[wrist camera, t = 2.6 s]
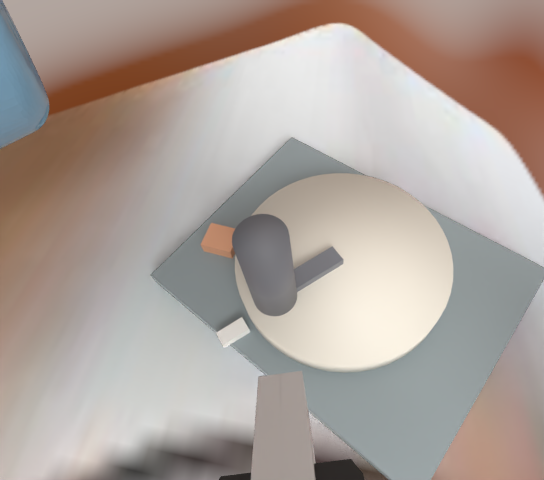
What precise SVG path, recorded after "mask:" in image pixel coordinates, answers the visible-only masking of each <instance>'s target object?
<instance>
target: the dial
mask: <svg viewBox="0 0 544 480" xmlns="http://www.w3.org/2000/svg"><path fill="white" fill-rule="evenodd" d="M232 246H233V249H234V251H235V254H236V255H235V276H236V283H237V287H238V290H239V294H240V296H241V299H242V301H243V303H244V306H245V308H246V310H247V312H248V315H249V317H250V319H251V320H252V322H253V324H254V325H255V327H256V328H257V330H258V331H259V332H260V333H261V334H262V336H263V337H264V338H265V339H266V340H267V341H268V342H269V343H270V344H271V345H272V346H273V347H275V348H276V349H277V350H279V351H280V352H281V353H283V354H284V355H286V356H287V357H289V358H291V359H293V360H295V361H297V362H299V363H301V364H304V365H307V366H309V367H312V368H316V369H320V370H325V371H330V372H342V373H347V372H362V371H367V370H372V369H376V368H379V367H382V366H385V365H388V364H390V363H392V362H394V361H396V360H398V359H400V358H402V357H403V356H405V355H406V354H408V353H409V352H411V351H412V350H413V349H414V348H416V347H417V346H418V345H419V344H420V343H421V342H422V341H423V340H424V339H425V337H426V336H427V335H428V333H429V332H430V331H431V330H432V328H433V327H434V325H435V324H436V323H437V321H438V320H439V318H440V317H441V315H442V313H443V311H444V309H445V307H446V305H447V303H448V300H449V297H450V294H451V289H452V284H453V260H452V253H451V250H450V247H449V243H448V240H447V238H446V236H445V234H444V232H443V230H442V228H441V227H440V225H439V223H438V222H437V220H436V219H435V218H434V216H433V215H432V214H431V213H430V212H429V210H428V209H427V208H426V207H425V206H424V205H423V204H421V203H420V202H419V201H418V200H417V199H416V198H414V197H413V196H412V195H410V194H409V193H407V192H406V191H404V190H402V189H400V188H399V187H397V186H395V185H392V184H390V183H388V182H386V181H383V180H380V179H377V178H374V177H369V176H364V175H359V174H350V173H332V174H322V175H317V176H312V177H308V178H305V179H302V180H299V181H296V182H294V183H292V184H289V185H287V186H286V187H284V188H282V189H280V190H278V191H277V192H276V193H274V194H273V195H271V196H270V197H269V198H267V199H266V200H265V201H264V202H263V203H262V204H261V205H260V206H259V207H258V208H257V209H256V210H255V212H254V213H253V214H252V215H251V216H250V217H248V218H246V219H244V220H243V221H242V222H240V223H239V224H238V226H237V227H236V228H235V230H234V232H233V235H232Z"/></svg>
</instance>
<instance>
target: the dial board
mask: <svg viewBox="0 0 544 480" xmlns="http://www.w3.org/2000/svg"><path fill="white" fill-rule="evenodd" d="M332 173H350V174H359V175H364V174H362V173H360V172H358V171H356V170H354V169H352V168H351V167H349V166H347V165H345V164H343V163H341V162H339V161H337V160H335V159H333V158H331V157H329V156H327V155H325V154H323V153H321V152H320V151H318V150H316V149H314V148H312V147H310V146H308V145H306V144H304V143H302V142H300V141H298V140H296V139H294V138H291V139H290V140H288V141H287V142H286V143H285V144H284V145H283V146H282V147H281V148H280V149H279V150H278V151H277V152H276V153H275V154H274V155H273V156H272V157H271V158H270V159H269V160H268V161H267V162H266V163H265V164H264V165H263V166H262V167H261V168H260V169H259V170H258V171H257V172H256V173H255V174H254V175H253V176H252V177H251V178H250V179H249V180H247V181H246V182H245V183H244V184H243V185H242V186H241V187H240V188H239V189H238V190H237V191H236V192H235V193H234V194H233V195H232V196H231V197H230V198H229V199H228V200H227V201H226V202H225V203H224V204H223V205H222V206H221V207H220V208H219V209H218V210H217V211H216V212H215V213H214V214H213V215H212V216H211V217H210V218H209V219H208V220H206V221H205V222H204V223H203V224H202V225H201V226H200V227H199V228H198V229H197V230H196V231H195V232H194V233H193V234H192V235H191V236H190V237H189V238H188V239H187V240H186V241H185V242H184V243H183V244H182V245H181V246H180V247H179V248H178V249H177V250H176V251H175V252H174V253H173V254H172V255H171V256H170V257H169V258H168V259H167V260H165V261H164V262H163V263H162V264H161V265H160V266H159V267H158V268H157V269H156V270H155V271H154V272H153V273H152V274H151V276H152V278H153V279H154V280H155V281H156V282H157V283H158V284H159V285H160V286H161V287H163V288H164V289H165V290H166V291H167V292H169V293H170V294H171V295H172V296H173V297H174V298H176V299H177V300H178V301H179V302H180V303H181V304H183V305H184V306H185V307H186V308H187V309H189V310H190V311H191V312H192V313H193V314H194V315H196V316H197V317H198V318H199V319H200V320H201V321H203V322H204V323H205V324H206V325H207V326H209V327H210V328H211V329H212V330H213V331H214V332H216V335H217V336H218V338H219V340H220V342H221V344H222V346H223V347H224V348H226V347H227V346H229V345H231V346H232V347H233V348H234V349H236V350H237V351H238V352H239V353H240V354H241V355H243V356H244V357H245V358H246V359H247V360H249V361H250V362H251V363H252V364H253V365H254V366H256V367H257V368H258V369H259V370H260V371H261V372H263V373H264V374H265V375H266V376H267V375H274V374H282V373H289V372H297V371H302V374H303V380H304V387H305V393H306V400H307V406H308V411H309V412H310V413H311V414H312V415H313V416H314V417H316V418H317V419H318V420H319V421H320V422H321V423H323V424H324V425H325V426H326V427H327V428H329V429H330V430H331V431H332V432H333V433H334V434H336V435H337V436H338V437H339V438H340V439H341V440H343V441H344V442H345V443H346V444H347V445H349V446H350V447H351V448H352V449H353V450H354V451H356V452H357V453H358V454H359V455H360V456H361V457H363V458H364V459H365V460H366V461H367V462H369V463H370V464H371V465H372V466H373V467H374V468H376V469H377V470H378V471H379V472H380V473H381V474H383V475H384V476H385V477H386V478H387V479H389V480H431V478H432V476H433V475H434V473H435V471H436V469H437V467H438V466H439V464H440V462H441V460H442V459H443V457H444V455H445V453H446V452H447V450H448V448H449V446H450V444H451V443H452V441H453V439H454V437H455V436H456V434H457V432H458V430H459V429H460V427H461V425H462V423H463V421H464V420H465V418H466V416H467V414H468V413H469V411H470V409H471V407H472V406H473V404H474V402H475V400H476V398H477V397H478V395H479V393H480V391H481V390H482V388H483V386H484V384H485V383H486V381H487V379H488V377H489V375H490V374H491V372H492V370H493V368H494V367H495V365H496V363H497V361H498V360H499V358H500V356H501V354H502V352H503V351H504V349H505V347H506V345H507V344H508V342H509V340H510V338H511V337H512V335H513V333H514V331H515V329H516V328H517V326H518V324H519V322H520V321H521V319H522V317H523V315H524V314H525V312H526V310H527V308H528V306H529V305H530V303H531V301H532V299H533V298H534V296H535V294H536V292H537V291H538V289H539V287H540V285H541V283H542V282H543V280H544V267H542V266H540V265H538V264H537V263H535V262H533V261H531V260H529V259H527V258H525V257H523V256H521V255H519V254H517V253H515V252H513V251H511V250H509V249H507V248H506V247H504V246H502V245H500V244H498V243H496V242H494V241H492V240H490V239H488V238H486V237H484V236H482V235H480V234H478V233H476V232H475V231H473V230H471V229H469V228H467V227H465V226H463V225H461V224H459V223H457V222H455V221H453V220H451V219H449V218H447V217H445V216H444V215H442V214H440V213H438V212H436V211H434V210H432V209H430V208H428V207H426V206H425V207H426V208H427V209H428V210H429V212H430V213H431V214H432V215H433V216H434V218H435V219H436V220H437V222H438V223H439V225H440V227H441V228H442V230H443V232H444V234H445V236H446V238H447V240H448V243H449V247H450V250H451V253H452V260H453V284H452V289H451V294H450V297H449V300H448V303H447V305H446V307H445V309H444V311H443V313H442V315H441V317H440V318H439V320H438V321H437V323H436V324H435V325H434V327H433V328H432V330H431V331H430V332H429V333H428V335H427V336H426V337H425V339H424V340H423V341H422V342H421V343H420V344H419V345H418V346H417V347H416V348H414V349H413V350H412V351H411V352H409V353H408V354H406V355H405V356H403V357H402V358H400V359H398V360H396V361H394V362H392V363H390V364H388V365H385V366H382V367H379V368H376V369H372V370H367V371H362V372H347V373H342V372H330V371H325V370H320V369H316V368H312V367H309V366H307V365H304V364H301V363H299V362H297V361H295V360H293V359H291V358H289V357H287V356H286V355H284V354H283V353H281V352H280V351H279V350H277V349H276V348H275V347H273V346H272V345H271V344H270V343H269V342H268V341H267V340H266V339H265V338H264V337H263V336H262V334H261V333H260V332H259V331H258V330H257V328H256V327H255V325H254V324H253V322H252V320H251V319H250V317H249V315H248V312H247V310H246V308H245V306H244V303H243V301H242V299H241V296H240V294H239V290H238V287H237V283H236V276H235V255H236V254H235V251H234V249H233V246H232V235H233V232H234V230H235V228H236V227H237V226H238V224H239V223H240V222H242V221H243V220H244V219H246V218H248V217H250V216H251V215H252V214H253V213H254V212H255V210H256V209H257V208H258V207H259V206H260V205H261V204H262V203H263V202H264V201H265V200H266V199H267V198H269V197H270V196H271V195H273V194H274V193H276V192H277V191H278V190H280V189H282V188H284V187H286V186H287V185H289V184H292V183H294V182H296V181H299V180H302V179H305V178H308V177H312V176H317V175H322V174H332ZM364 176H366V175H364Z"/></svg>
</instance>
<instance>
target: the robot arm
mask: <svg viewBox="0 0 544 480" xmlns="http://www.w3.org/2000/svg"><path fill="white" fill-rule="evenodd" d="M48 113H49V100H48V96H47V94H46V91H45V89H44V86H43V84H42V81H41V79H40V77H39V75H38V73H37V70H36V68H35V66H34V64H33V62H32V60H31V58H30V55H29V53H28V51H27V49H26V47H25V45H24V43H23V41H22V39H21V37H20V35H19V33H18V31H17V29H16V27H15V25H14V23H13V21H12V19H11V17H10V15H9V13H8V11H7V9H6V7H5V5H4V3H3V1H2V0H0V149H1V148H3V147H5V146H7V145H9V144H11V143H13V142H15V141H17V140H19V139H21V138H23V137H25V136H27V135H29V134H31V133H33V132H35V131H37V130H38V129H39V128H40V127H41V126H42V125H43V124H44V123H45V121H46V119H47V117H48ZM219 480H364V477H363V473H362V472H361V471H360V470H359V468H358V467H357V466H356V465H355V464H354V462H353V461H352V460H351V459H348V460H340V461H332V462H324V463H315V455H314V447H313V439H312V433H311V426H310V419H309V413H308V406H307V400H306V393H305V387H304V380H303V374H302V371H297V372H289V373H282V374H274V375H267V376H259V377H258V390H257V403H256V417H255V430H254V443H253V456H252V470H251V473H245V474H237V475H229V476H221V477H220V479H219Z"/></svg>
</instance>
